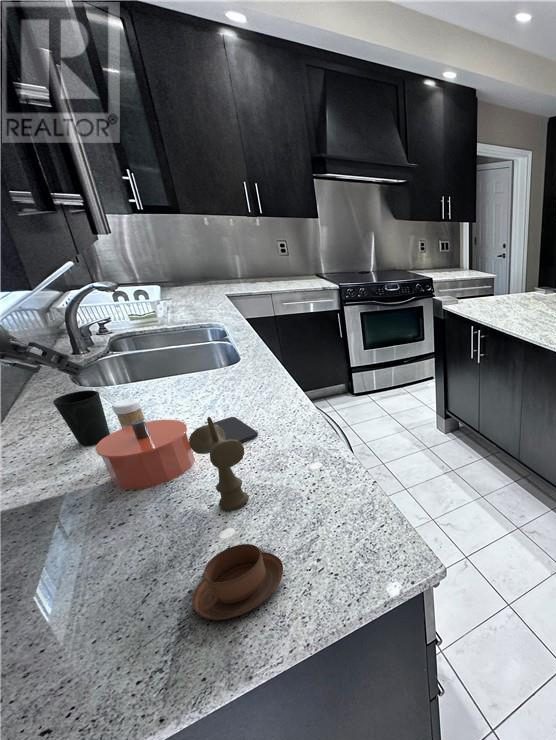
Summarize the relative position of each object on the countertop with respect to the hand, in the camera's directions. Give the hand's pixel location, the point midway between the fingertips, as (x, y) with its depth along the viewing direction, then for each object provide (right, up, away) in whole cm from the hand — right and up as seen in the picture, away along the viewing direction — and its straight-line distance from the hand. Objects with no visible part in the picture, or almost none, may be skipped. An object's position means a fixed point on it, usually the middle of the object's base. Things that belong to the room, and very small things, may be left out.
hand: (58, 370), depth 78 cm
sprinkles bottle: (0, -19, +19) cm, 27 cm away
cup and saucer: (+45, -36, -14) cm, 60 cm away
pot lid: (+10, -14, +7) cm, 19 cm away
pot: (+10, -23, +11) cm, 27 cm away
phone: (+14, -16, +28) cm, 35 cm away
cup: (-16, -17, +22) cm, 32 cm away
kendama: (+32, -27, +4) cm, 42 cm away
